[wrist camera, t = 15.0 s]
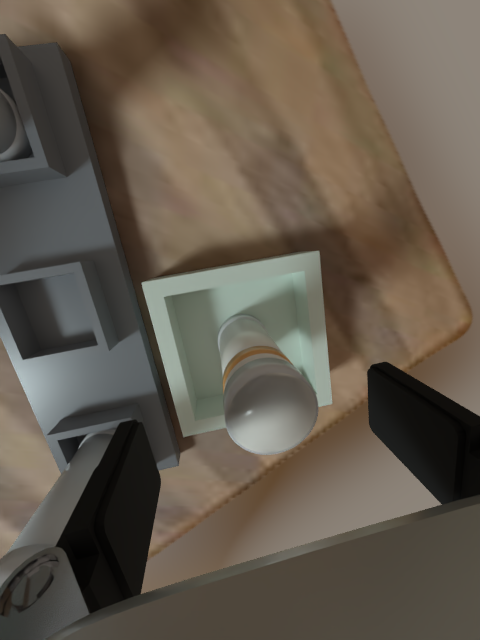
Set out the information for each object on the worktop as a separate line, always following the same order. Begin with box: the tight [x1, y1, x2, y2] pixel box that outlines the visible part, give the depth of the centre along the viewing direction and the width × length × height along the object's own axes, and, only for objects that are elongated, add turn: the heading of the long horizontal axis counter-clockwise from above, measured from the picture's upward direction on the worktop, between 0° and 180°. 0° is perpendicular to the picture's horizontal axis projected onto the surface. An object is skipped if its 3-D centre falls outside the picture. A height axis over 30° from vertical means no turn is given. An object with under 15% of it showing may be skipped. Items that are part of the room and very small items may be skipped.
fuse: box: [0, 428, 117, 587], centre depth 17 cm, size 4×4×11 cm
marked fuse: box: [218, 314, 318, 455], centre depth 16 cm, size 4×4×11 cm
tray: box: [141, 251, 332, 437], centre depth 21 cm, size 12×12×4 cm
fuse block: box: [0, 34, 180, 474], centre depth 19 cm, size 32×10×4 cm, turn 10°
